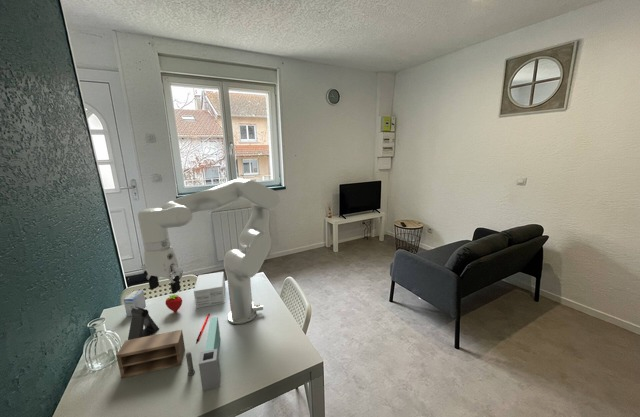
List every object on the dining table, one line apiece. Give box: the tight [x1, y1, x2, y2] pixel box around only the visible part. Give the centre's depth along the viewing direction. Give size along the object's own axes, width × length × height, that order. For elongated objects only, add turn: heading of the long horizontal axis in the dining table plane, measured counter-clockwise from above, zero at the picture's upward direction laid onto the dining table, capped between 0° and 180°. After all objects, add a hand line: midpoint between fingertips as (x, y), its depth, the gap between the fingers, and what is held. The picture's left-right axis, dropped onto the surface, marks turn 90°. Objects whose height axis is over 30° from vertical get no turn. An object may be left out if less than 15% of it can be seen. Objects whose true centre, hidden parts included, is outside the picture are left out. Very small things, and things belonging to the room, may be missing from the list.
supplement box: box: [193, 271, 226, 309], centre depth 133 cm, size 17×13×9 cm
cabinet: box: [116, 329, 196, 379], centre depth 89 cm, size 23×13×9 cm, turn 107°
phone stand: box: [127, 307, 160, 340], centre depth 105 cm, size 9×6×12 cm, turn 158°
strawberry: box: [165, 293, 183, 313], centre depth 120 cm, size 6×8×10 cm
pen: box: [195, 313, 210, 344], centre depth 110 cm, size 1×19×1 cm, turn 8°
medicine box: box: [123, 289, 147, 317], centre depth 122 cm, size 8×4×9 cm, turn 5°
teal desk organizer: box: [198, 316, 222, 392], centre depth 91 cm, size 23×5×10 cm, turn 17°
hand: (165, 289), depth 92 cm, fingers open, 9 cm apart
